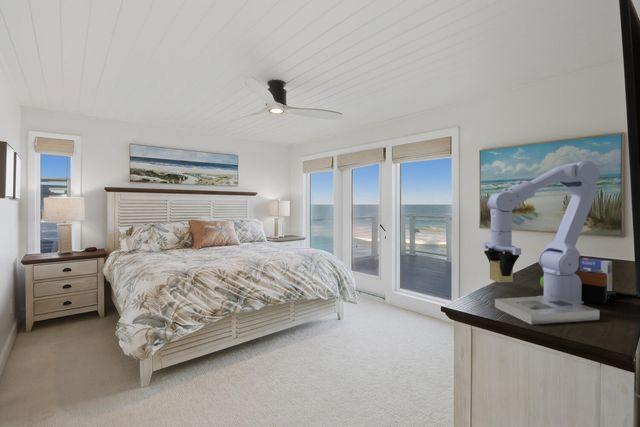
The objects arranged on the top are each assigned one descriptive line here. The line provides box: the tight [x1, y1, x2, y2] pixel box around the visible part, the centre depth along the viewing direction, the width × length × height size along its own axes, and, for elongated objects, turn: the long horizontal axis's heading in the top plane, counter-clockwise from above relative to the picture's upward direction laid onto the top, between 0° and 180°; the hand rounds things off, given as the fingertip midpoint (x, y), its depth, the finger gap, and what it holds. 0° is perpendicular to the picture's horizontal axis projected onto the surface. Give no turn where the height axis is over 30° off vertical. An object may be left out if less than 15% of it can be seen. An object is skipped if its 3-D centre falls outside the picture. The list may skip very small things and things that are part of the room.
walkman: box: [579, 257, 613, 291], centre depth 107 cm, size 8×3×12 cm, turn 28°
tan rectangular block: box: [489, 260, 514, 283], centre depth 101 cm, size 4×4×6 cm
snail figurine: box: [539, 275, 544, 289], centre depth 114 cm, size 5×6×12 cm
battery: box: [576, 269, 608, 305], centre depth 101 cm, size 4×7×10 cm, turn 39°
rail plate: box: [494, 295, 600, 325], centre depth 91 cm, size 20×14×3 cm
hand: (501, 274), depth 101 cm, fingers closed on tan rectangular block, 4 cm apart
